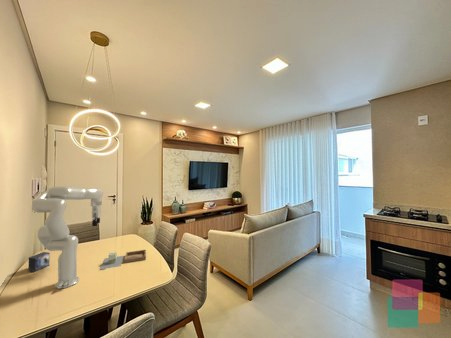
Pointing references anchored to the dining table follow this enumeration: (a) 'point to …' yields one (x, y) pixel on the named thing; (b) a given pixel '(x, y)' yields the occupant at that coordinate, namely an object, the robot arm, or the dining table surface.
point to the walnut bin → (135, 256)
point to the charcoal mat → (118, 263)
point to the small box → (38, 261)
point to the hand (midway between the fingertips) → (96, 224)
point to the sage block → (112, 257)
